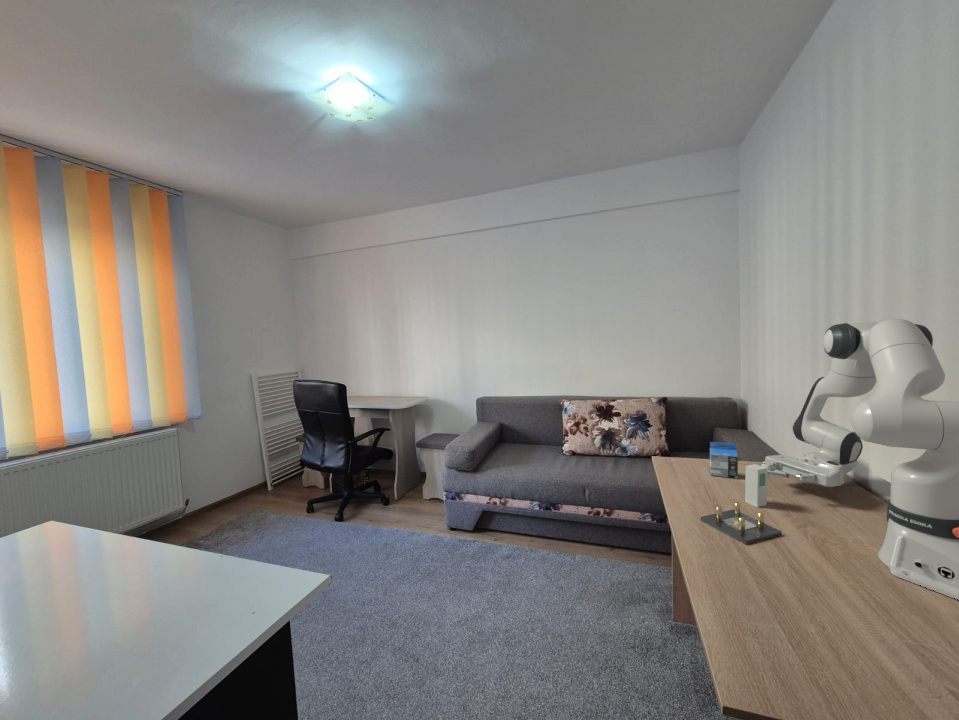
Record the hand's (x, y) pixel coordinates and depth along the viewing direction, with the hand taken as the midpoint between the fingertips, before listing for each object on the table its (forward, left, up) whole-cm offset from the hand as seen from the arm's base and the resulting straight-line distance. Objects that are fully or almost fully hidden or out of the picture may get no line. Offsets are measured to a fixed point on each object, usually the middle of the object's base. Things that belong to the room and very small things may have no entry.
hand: (783, 473), depth 126 cm
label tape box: (+21, +1, -8) cm, 22 cm away
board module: (0, +12, -8) cm, 15 cm away
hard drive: (+18, -21, -9) cm, 29 cm away
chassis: (-9, +30, -8) cm, 33 cm away
